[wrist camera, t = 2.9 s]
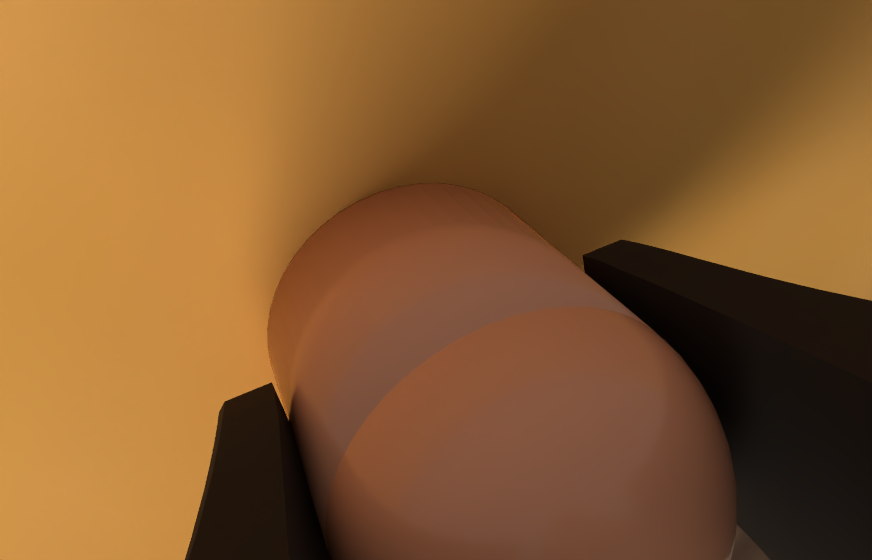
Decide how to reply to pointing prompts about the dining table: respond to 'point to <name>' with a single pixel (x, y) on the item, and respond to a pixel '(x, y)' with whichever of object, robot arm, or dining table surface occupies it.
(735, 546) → the egg tray
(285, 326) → the terracotta egg
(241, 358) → the dining table surface
